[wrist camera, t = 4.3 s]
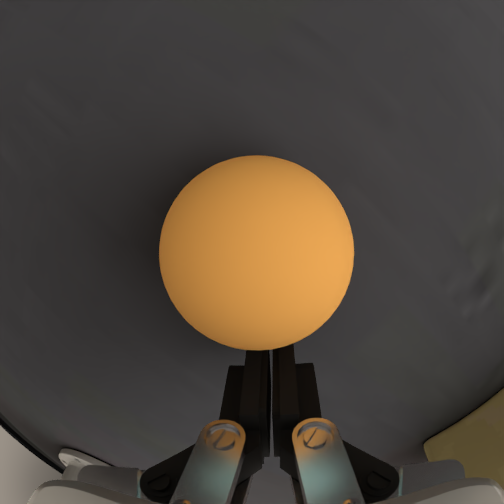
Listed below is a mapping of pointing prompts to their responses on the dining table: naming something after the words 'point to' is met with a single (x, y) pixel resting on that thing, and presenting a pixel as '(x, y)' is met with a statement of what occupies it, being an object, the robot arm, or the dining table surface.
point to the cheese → (474, 441)
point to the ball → (256, 252)
